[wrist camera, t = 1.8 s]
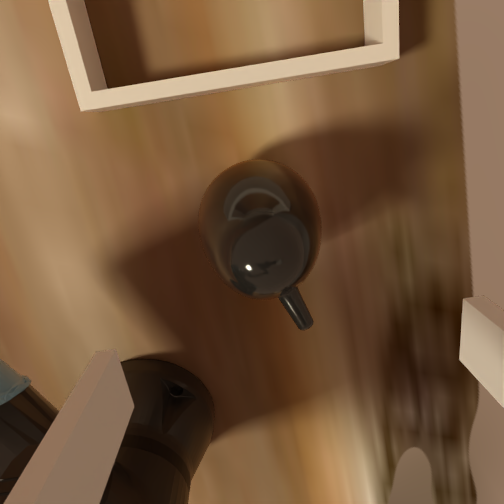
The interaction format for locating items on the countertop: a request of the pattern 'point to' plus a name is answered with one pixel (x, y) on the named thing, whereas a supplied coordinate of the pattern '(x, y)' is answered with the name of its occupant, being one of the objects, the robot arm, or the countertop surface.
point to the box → (102, 99)
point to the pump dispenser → (262, 232)
